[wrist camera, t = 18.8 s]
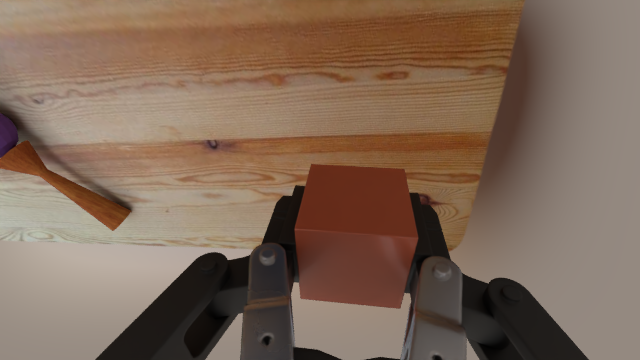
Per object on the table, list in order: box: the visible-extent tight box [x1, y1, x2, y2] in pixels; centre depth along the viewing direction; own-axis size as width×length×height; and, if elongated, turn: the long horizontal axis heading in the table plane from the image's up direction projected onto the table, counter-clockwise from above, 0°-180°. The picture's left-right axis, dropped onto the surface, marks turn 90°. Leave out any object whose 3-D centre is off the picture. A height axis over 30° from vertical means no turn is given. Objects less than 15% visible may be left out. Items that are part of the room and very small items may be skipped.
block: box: [294, 164, 418, 308], centre depth 12 cm, size 4×4×4 cm
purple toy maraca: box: [0, 113, 131, 231], centre depth 37 cm, size 6×6×20 cm
